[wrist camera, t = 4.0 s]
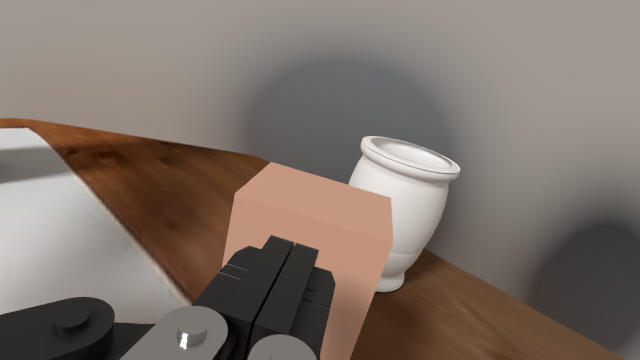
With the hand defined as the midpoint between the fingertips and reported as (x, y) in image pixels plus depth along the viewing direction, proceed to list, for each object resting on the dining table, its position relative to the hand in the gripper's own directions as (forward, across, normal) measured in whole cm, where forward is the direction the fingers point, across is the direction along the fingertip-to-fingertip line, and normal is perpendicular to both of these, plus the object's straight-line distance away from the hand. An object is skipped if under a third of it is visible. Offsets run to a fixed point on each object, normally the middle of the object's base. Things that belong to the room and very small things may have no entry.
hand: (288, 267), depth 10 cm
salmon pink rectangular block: (+7, 0, +14) cm, 16 cm away
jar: (+27, -6, +16) cm, 32 cm away
